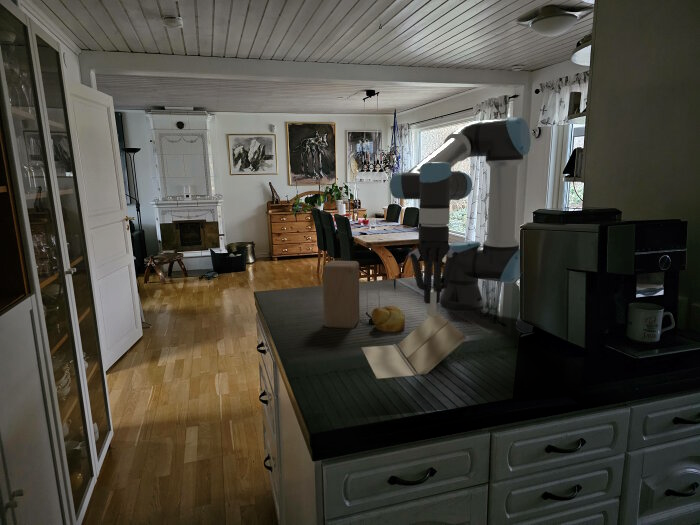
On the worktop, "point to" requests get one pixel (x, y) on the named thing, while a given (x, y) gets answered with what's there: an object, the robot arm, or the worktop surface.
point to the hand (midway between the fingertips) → (431, 314)
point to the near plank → (436, 349)
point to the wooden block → (341, 294)
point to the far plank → (422, 334)
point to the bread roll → (388, 318)
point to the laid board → (388, 361)
